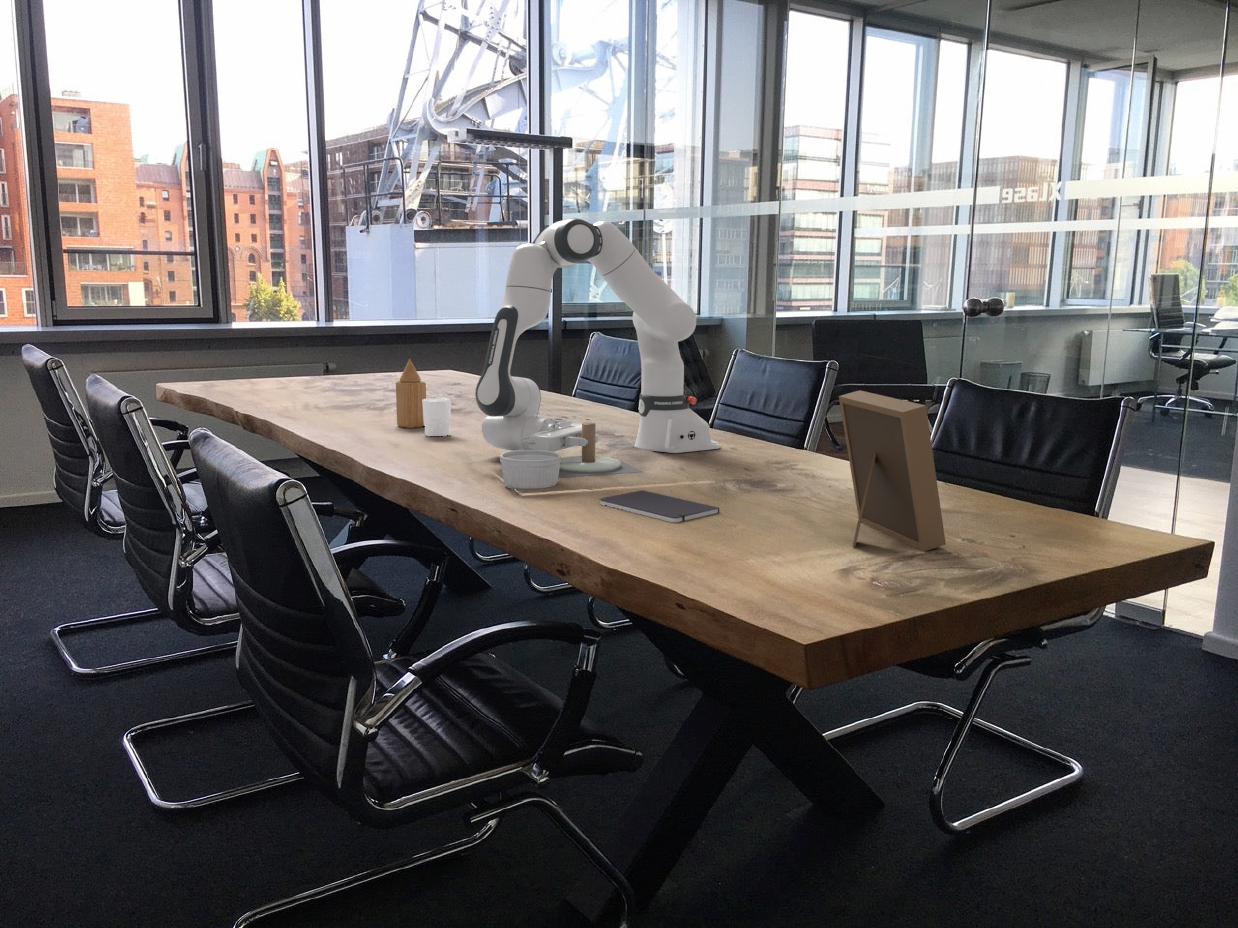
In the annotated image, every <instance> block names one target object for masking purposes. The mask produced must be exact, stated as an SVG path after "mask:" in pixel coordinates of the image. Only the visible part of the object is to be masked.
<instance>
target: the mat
mask: <svg viewBox="0 0 1238 928" xmlns="http://www.w3.org/2000/svg"><path fill="white" fill-rule="evenodd" d="M610 457H611V458H615V459H617V458H616V457H614V456H610ZM637 473H644V471H643V470H641V469H639V468H637V467H635V466H632V465H630V464H628V463H626V462H624V461H622V460H620V468H619V469H617V470H614V471H608V472H598V473H580V472H570V471H564V470H561V469H559V476H558V478H573V477H574V478H577V477H592V476H605V475H622V474H637Z"/></svg>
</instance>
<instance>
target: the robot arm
mask: <svg viewBox="0 0 1238 928" xmlns="http://www.w3.org/2000/svg"><path fill="white" fill-rule="evenodd" d="M586 261H587V262H589V263H590V264H591V265H592V266H593V267H594V268H595V269H596V271H597V272H598V273H599V275H600V276H601V278H602V279H603V280H604V281H605V282H606V283H607V285H608V286H609V288H610V289H611V290H612V291H613V293H615V296H617V297H618V298H619V299H620V301H621V302H623V303H624V304H625V305H627V307H629V308H630V309H631V310H632V311H633V312H632V323H633V326H634V328H635V331H636V338H637V344H638V351H639V355H640V356H639V357H640V364H641V367H640V368H641V376H640V377H641V381H640V382H641V383H640V385H641V390H640V391H641V392H640V393H639V401H638V410H639V411H638V413H639V424H638V431H637V435H636V440H635V442H634V447H635V448H638V449H641V450H648V451H651V452H659V453H661V452H662V453H663V452H664V453H668V454H669V453H670V454H679V453H688V452H689V453H690V452H697V451H698V452H699V451H709V450H717V449H720V443H719V442H717V441H715V440H713V439H712V435H711V428H710V425H709V423H708V422H707V421H706V420H705V419H703V418H702V417H700V416H699V415H698V414H697V413H696V412H695V411H693V410H692V409H691V408H690V405H696V403H697V398H696V397H695V396H692V395H690V396H688V395H686V394H684V384H685V383H684V381H685V380H684V379H685V377H684V376H685V365H684V361H683V359H682V356H681V354H680V353H681V352H680V349H679V342H682V341H684V340H686V339H688V338H689V337H690V336H691V335H693V334H694V332H695V329H696V326H697V315H696V313H695V310H694V309H693V308H692V307H691V306H690V305H688V304H687V302H685V301H684V300H683V299H682V298H681V297H680V296H679V295H678V293H676V292H675V291H674V290H673V289H672V288H671V286H669V284H667V283H666V282H665V281H664V280H663V279H662V278H661V277H660V276H659V275H658V274H657V273H656V271H654V270H653V268H652V267H651V266H650V265H649V263H648V262H647V261H646V259H645V258H644V257H643V255H641V253H640V252H639V250H638V249H637V248H636V247H635V245H634V244H633V242H631V240H630V239H629V238H628V237H627V236H626V235H625V234H624V233H623V232H622V231H621V230H620V229H619V228H618V227H617V226H615V225H614V224H613V223H612V222H611V221H608V220H600V221H595V222H594V223H590V222H588V221H586V220H585V219H582V218H576V217H571V218H568V219H564V220H559V221H555V222H554V223H552V224H551V225H548V226H546V227H544V228H543V229H541V231H539V232H538V234H537V235H536V237H535V238H534V240H533V242H531V243H528V242H527V243H524V244H519V246H517V247H515V248H514V250H513V252H512V256H511V259H510V262H509V266H508V271H507V276H506V281H505V289H504V290H505V291H504V297H503V301H502V305H501V307H500V309H499V311H498V312H497V313H496V316H495V318H494V321H493V325H492V329H491V333H490V338H489V343H488V348H487V352H486V356H485V361H484V365H483V370H482V372H481V375H480V377H479V379H478V382H477V384H476V388H475V395H474V396H475V397H474V398H475V401H476V403H477V406H478V408H479V410H480V411H481V412H482V413H483V414H485V415H486V416H485V417H484V418H483V420H482V423H481V434H482V437H483V439H484V441H485V442H486V443H487V444H488V445H490V446H491V447H494V448H496V449H499V450H500V449H501V450H505V451H516V450H546V451H553V452H557V451H562V450H565V449H568V448H571V447H582V446H586V445H588V438H583V437H582V422H581V423H580V422H575V421H567V419H566V418H552V417H543V416H539V415H538V414H539V412H540V407H541V399H542V396H541V394H542V393H541V389H540V388H539V385H538V384H537V383H536V382H535V381H534V380H533V379H530V378H529V377H528V378H527V377H521V376H512V375H511V368H512V362H513V358H514V354H515V353H514V352H515V349H516V344H517V340H518V338H519V337H520V335H522V334H523V333H524V332H525V331H526V330H528V329H532V328H533V327H536V326H537V325H539V324H540V323H542V321H544V320H545V319H546V317H547V315H548V312H549V309H550V305H551V297H552V287H553V286H552V284H553V277H554V275H555V272H556V270H557V269H558V270H559V269H561V268H569V267H573V266H575V265H577V264H581V263H584V262H586ZM598 443H599V435H597V434H596V437H595V444H598Z"/></svg>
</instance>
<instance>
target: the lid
mask: <svg viewBox="0 0 1238 928" xmlns="http://www.w3.org/2000/svg"><path fill="white" fill-rule="evenodd" d="M581 424H582V437H583V438H588V445H586V446H581V455H573V456H567V457H561V462H560V468H559V469H561V470H564V471H570V472H580V473H598V472H608V471H614V470H617V469H619V468H620V461H621V460H620V459H619V458H616V457H614V458H611V457H612V456H602V455H601V456H599V455H596V443H595V437H596V435H597V434H596V432H597V431H596V427H597V426H596V422H581ZM615 458H616V459H615Z"/></svg>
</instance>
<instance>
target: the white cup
mask: <svg viewBox="0 0 1238 928" xmlns="http://www.w3.org/2000/svg"><path fill="white" fill-rule="evenodd" d="M451 403H452V399H451V398H447V397H446V398H445V397H429V398H428V397H426V399H423V400H422V406H423V420H424V426H425V427H424V435H425V437H430V436H443V437H447V435H448V436H449V435H450V430H451V429H450V426H451V408H452V407H451V406H452V405H451Z"/></svg>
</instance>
